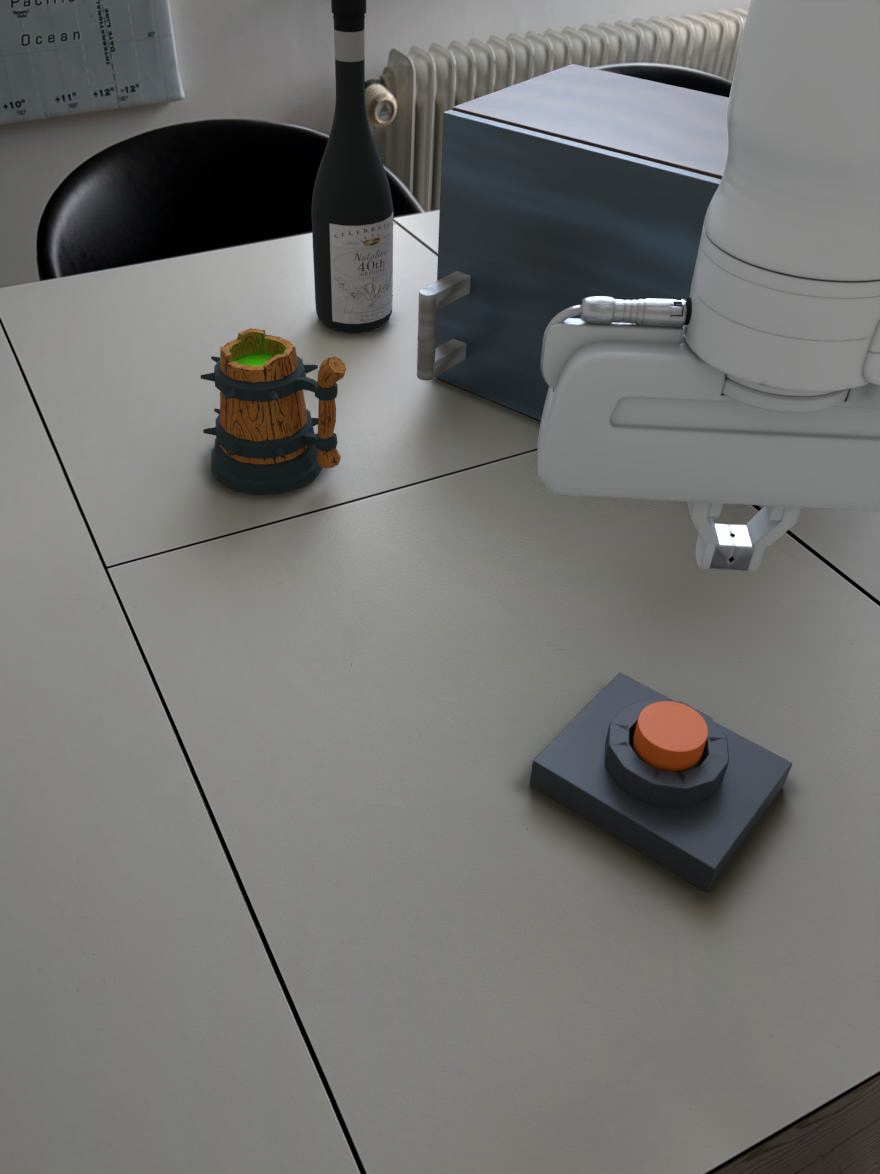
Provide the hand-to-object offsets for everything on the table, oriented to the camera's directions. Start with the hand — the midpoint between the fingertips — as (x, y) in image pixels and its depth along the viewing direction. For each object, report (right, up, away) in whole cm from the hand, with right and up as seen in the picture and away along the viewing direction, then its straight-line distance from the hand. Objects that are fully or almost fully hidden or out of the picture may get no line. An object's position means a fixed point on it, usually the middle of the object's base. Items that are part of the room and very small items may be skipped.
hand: (725, 562), depth 53 cm
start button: (-1, -10, +8) cm, 13 cm away
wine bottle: (-21, +30, +57) cm, 68 cm away
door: (-5, +15, +40) cm, 43 cm away
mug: (-27, +11, +36) cm, 46 cm away
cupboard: (+3, +21, +47) cm, 52 cm away
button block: (-1, -13, +11) cm, 17 cm away
